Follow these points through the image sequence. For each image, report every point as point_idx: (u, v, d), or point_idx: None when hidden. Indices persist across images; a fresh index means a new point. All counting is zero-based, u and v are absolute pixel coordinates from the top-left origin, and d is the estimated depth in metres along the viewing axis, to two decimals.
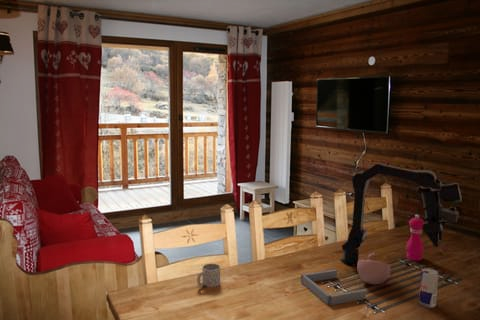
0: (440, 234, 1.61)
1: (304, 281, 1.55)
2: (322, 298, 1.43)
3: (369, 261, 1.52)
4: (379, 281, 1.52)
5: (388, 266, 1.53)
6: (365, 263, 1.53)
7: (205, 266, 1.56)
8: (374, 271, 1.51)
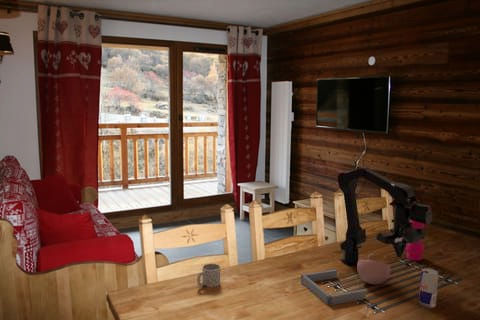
0: None
1: (304, 281, 1.55)
2: (322, 298, 1.43)
3: (369, 261, 1.52)
4: (379, 281, 1.52)
5: (388, 266, 1.53)
6: (366, 263, 1.53)
7: (205, 266, 1.56)
8: (374, 271, 1.51)
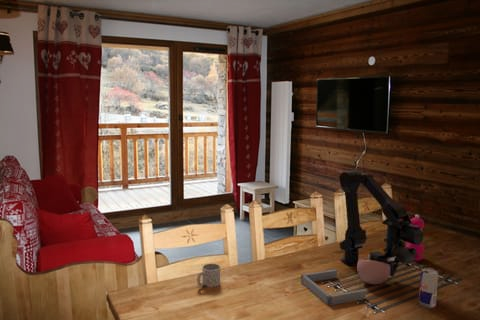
0: None
1: (304, 281, 1.55)
2: (322, 298, 1.43)
3: (369, 261, 1.52)
4: (379, 281, 1.52)
5: (388, 266, 1.53)
6: (365, 263, 1.53)
7: (205, 266, 1.56)
8: (374, 271, 1.51)
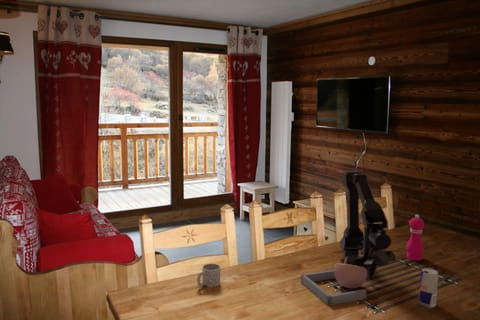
0: None
1: (304, 281, 1.55)
2: (322, 298, 1.43)
3: (345, 265, 1.49)
4: (355, 285, 1.48)
5: (364, 270, 1.49)
6: (341, 266, 1.49)
7: (205, 266, 1.56)
8: (349, 275, 1.47)
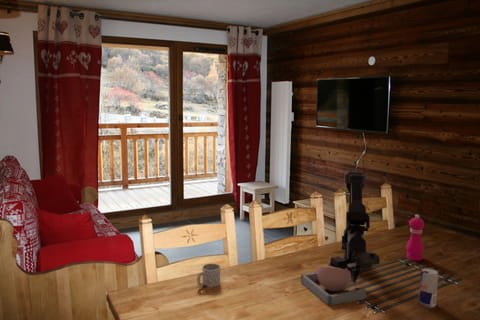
0: None
1: (304, 281, 1.55)
2: (322, 298, 1.43)
3: (328, 267, 1.46)
4: (338, 288, 1.46)
5: (348, 272, 1.47)
6: (324, 269, 1.47)
7: (205, 266, 1.56)
8: (332, 278, 1.45)
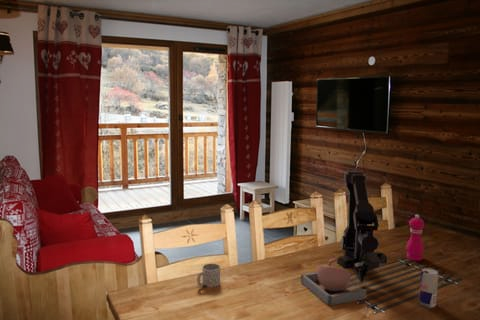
0: None
1: (304, 281, 1.55)
2: (322, 298, 1.43)
3: (328, 267, 1.47)
4: (338, 288, 1.46)
5: (348, 272, 1.47)
6: (324, 269, 1.47)
7: (205, 266, 1.56)
8: (332, 277, 1.45)
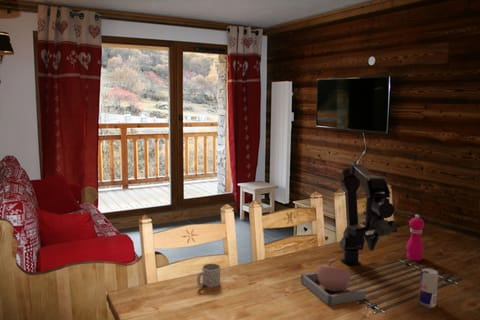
0: None
1: (304, 281, 1.55)
2: (322, 298, 1.43)
3: (328, 267, 1.47)
4: (338, 288, 1.46)
5: (348, 272, 1.47)
6: (324, 269, 1.47)
7: (205, 266, 1.56)
8: (332, 277, 1.45)
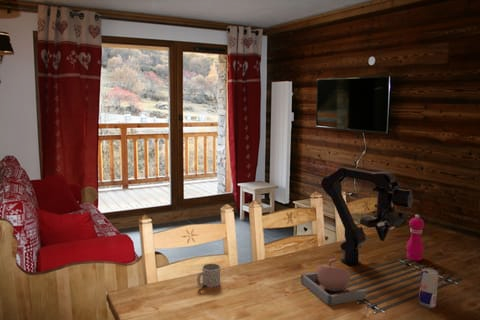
0: None
1: (304, 281, 1.55)
2: (322, 298, 1.43)
3: (328, 267, 1.47)
4: (338, 288, 1.46)
5: (348, 272, 1.47)
6: (324, 269, 1.47)
7: (205, 266, 1.56)
8: (332, 277, 1.45)
